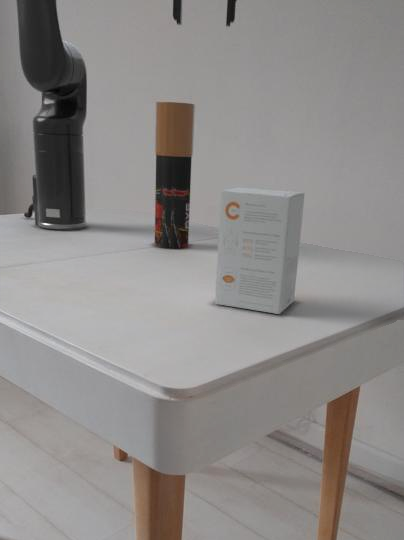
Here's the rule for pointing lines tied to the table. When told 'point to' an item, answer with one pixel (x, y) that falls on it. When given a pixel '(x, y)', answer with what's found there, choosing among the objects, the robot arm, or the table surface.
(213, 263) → the table surface
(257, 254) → the small box
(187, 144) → the cup
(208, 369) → the table surface
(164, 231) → the deodorant
